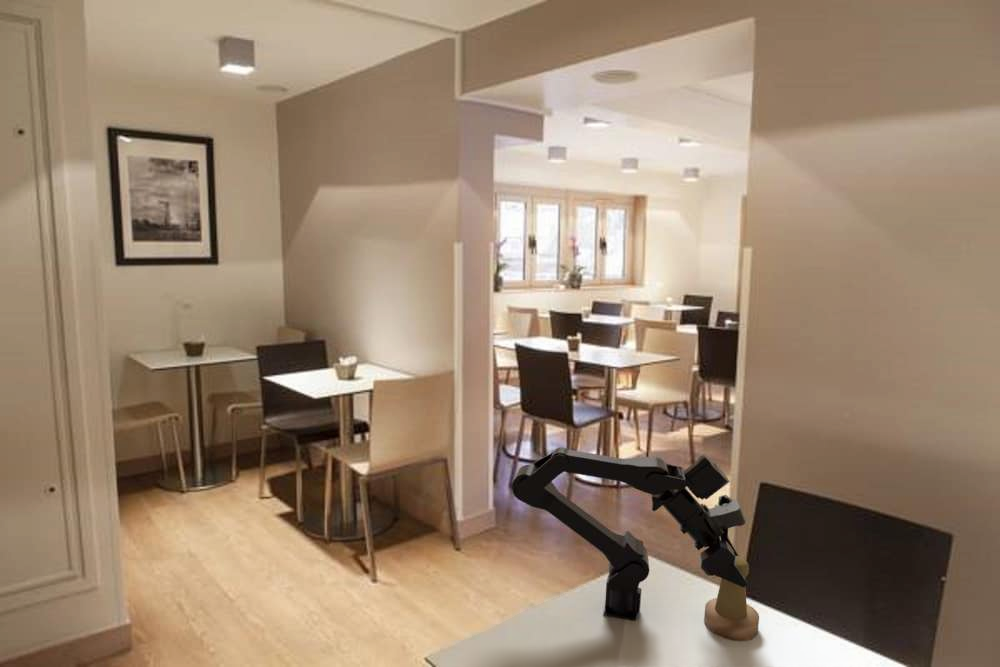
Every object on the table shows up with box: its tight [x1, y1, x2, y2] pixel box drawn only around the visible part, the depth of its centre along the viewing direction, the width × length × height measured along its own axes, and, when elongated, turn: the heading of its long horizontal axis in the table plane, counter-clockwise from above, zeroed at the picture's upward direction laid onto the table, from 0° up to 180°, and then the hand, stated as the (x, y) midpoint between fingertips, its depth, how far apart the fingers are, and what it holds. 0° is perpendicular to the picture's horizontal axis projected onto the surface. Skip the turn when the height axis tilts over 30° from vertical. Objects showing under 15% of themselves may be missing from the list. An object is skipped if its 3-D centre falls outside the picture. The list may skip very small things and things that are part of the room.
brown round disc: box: [703, 597, 760, 642], centre depth 129 cm, size 10×10×3 cm
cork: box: [715, 555, 750, 620], centre depth 128 cm, size 6×6×11 cm
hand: (742, 574), depth 127 cm, fingers open, 9 cm apart
